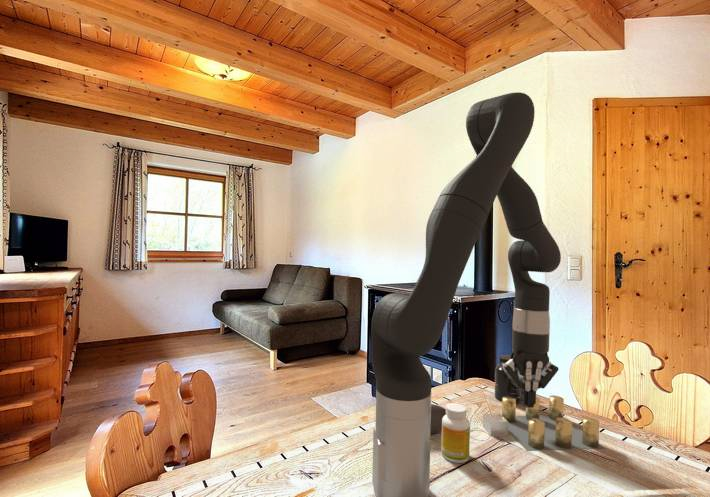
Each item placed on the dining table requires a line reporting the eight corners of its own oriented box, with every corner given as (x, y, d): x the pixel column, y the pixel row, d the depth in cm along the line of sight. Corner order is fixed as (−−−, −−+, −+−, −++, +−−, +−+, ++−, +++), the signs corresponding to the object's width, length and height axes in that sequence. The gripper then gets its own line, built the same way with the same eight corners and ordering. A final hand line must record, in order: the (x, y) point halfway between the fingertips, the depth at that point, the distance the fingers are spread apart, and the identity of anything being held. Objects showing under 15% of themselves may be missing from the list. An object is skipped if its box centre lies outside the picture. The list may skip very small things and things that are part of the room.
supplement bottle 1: (470, 465, 69) (471, 414, 69) (441, 461, 70) (442, 411, 70) (467, 450, 75) (468, 403, 75) (440, 446, 76) (441, 400, 76)
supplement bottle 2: (489, 398, 101) (489, 355, 101) (506, 394, 104) (507, 352, 104) (508, 408, 95) (509, 362, 95) (527, 403, 98) (528, 359, 98)
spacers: (533, 449, 74) (533, 425, 74) (499, 416, 89) (500, 396, 89) (602, 447, 75) (602, 423, 75) (558, 415, 90) (558, 395, 90)
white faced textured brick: (490, 436, 79) (490, 422, 79) (482, 427, 83) (482, 414, 83) (508, 435, 80) (508, 422, 80) (499, 426, 84) (499, 413, 84)
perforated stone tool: (446, 426, 85) (447, 396, 85) (456, 438, 80) (456, 406, 80) (383, 429, 83) (384, 399, 83) (389, 442, 77) (390, 409, 77)
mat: (498, 454, 73) (498, 451, 73) (469, 419, 88) (469, 416, 88) (605, 451, 75) (605, 448, 75) (559, 417, 90) (559, 414, 90)
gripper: (511, 332, 77) (508, 413, 77) (569, 333, 79) (566, 413, 79) (494, 325, 85) (491, 399, 85) (548, 326, 86) (545, 399, 86)
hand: (527, 406), depth 82 cm, fingers closed
